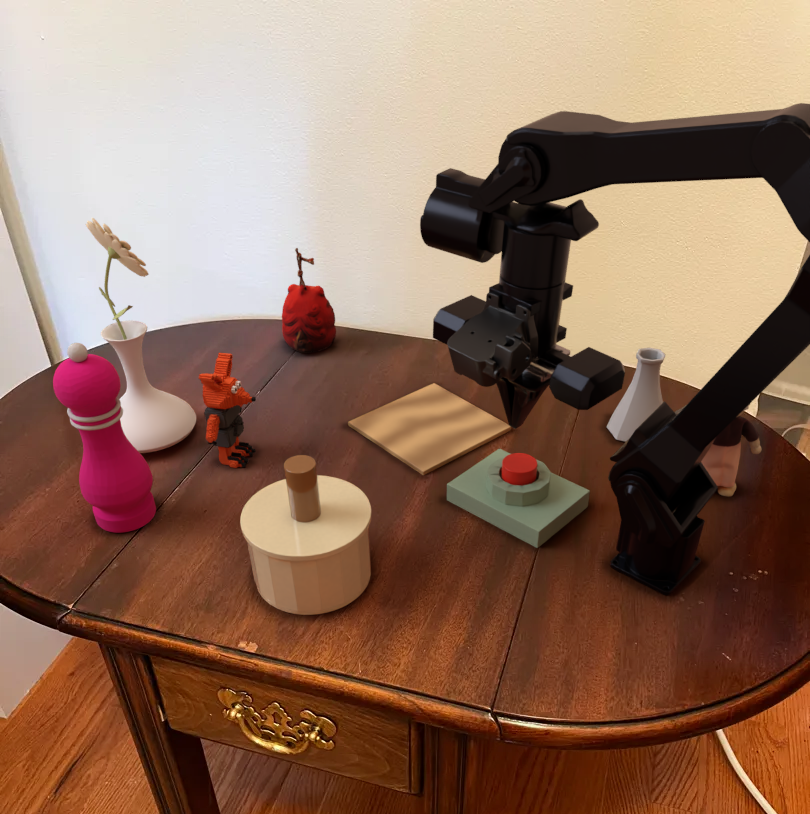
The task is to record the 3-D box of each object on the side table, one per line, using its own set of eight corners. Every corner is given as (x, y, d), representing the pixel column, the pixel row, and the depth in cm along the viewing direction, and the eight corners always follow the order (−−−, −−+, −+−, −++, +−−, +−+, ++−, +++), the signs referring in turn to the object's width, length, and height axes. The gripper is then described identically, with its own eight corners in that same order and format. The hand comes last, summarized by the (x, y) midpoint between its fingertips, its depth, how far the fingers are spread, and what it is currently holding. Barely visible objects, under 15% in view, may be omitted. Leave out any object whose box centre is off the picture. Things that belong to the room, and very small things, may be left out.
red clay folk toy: (341, 335, 121) (333, 231, 111) (331, 358, 115) (322, 251, 106) (289, 333, 121) (277, 229, 112) (277, 356, 116) (263, 249, 106)
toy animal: (251, 481, 94) (234, 386, 86) (206, 474, 95) (186, 380, 87) (277, 442, 100) (264, 350, 92) (235, 436, 101) (218, 345, 93)
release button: (543, 475, 87) (544, 461, 86) (522, 491, 85) (523, 477, 84) (515, 462, 89) (516, 448, 88) (494, 477, 87) (495, 463, 86)
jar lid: (398, 519, 78) (396, 460, 73) (301, 586, 71) (293, 524, 67) (311, 470, 84) (305, 412, 80) (215, 526, 77) (202, 467, 73)
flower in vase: (207, 449, 99) (163, 238, 83) (108, 471, 96) (42, 256, 80) (187, 397, 108) (144, 198, 92) (96, 416, 105) (35, 214, 89)
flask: (663, 414, 102) (679, 339, 96) (672, 447, 97) (689, 370, 90) (603, 412, 103) (615, 338, 97) (608, 445, 98) (621, 368, 91)
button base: (587, 507, 89) (592, 476, 86) (537, 548, 84) (540, 517, 81) (498, 464, 95) (500, 434, 93) (446, 500, 90) (446, 470, 88)
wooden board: (511, 430, 100) (511, 426, 100) (423, 475, 94) (423, 471, 93) (434, 386, 109) (434, 382, 108) (348, 425, 102) (347, 421, 102)
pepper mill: (91, 542, 86) (30, 367, 73) (92, 501, 92) (36, 332, 79) (162, 529, 88) (115, 355, 75) (159, 489, 93) (115, 321, 80)
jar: (394, 571, 82) (392, 514, 77) (309, 633, 76) (301, 576, 71) (317, 523, 88) (310, 468, 83) (232, 577, 82) (220, 521, 77)
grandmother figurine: (739, 476, 92) (768, 373, 84) (751, 497, 89) (782, 393, 81) (669, 479, 92) (692, 376, 84) (679, 500, 89) (704, 396, 81)
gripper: (391, 268, 73) (391, 418, 84) (560, 344, 63) (536, 504, 74) (477, 235, 79) (467, 379, 90) (643, 299, 69) (611, 453, 80)
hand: (515, 426), depth 83 cm, fingers closed
